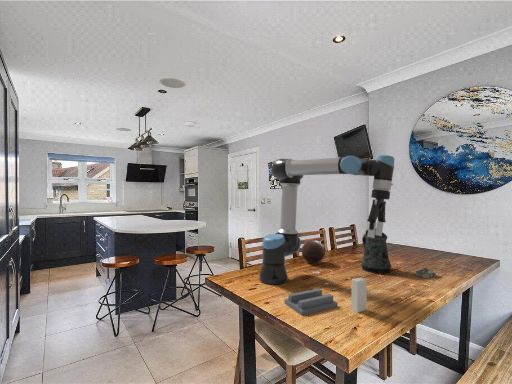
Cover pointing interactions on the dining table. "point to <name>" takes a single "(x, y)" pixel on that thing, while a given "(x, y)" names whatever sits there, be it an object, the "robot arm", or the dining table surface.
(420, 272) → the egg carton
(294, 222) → the robot arm
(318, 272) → the paper
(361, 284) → the white rectangular block
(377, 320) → the dining table surface
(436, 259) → the dining table surface
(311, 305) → the rack
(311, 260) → the wooden sphere
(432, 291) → the dining table surface
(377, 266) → the black irregular block
